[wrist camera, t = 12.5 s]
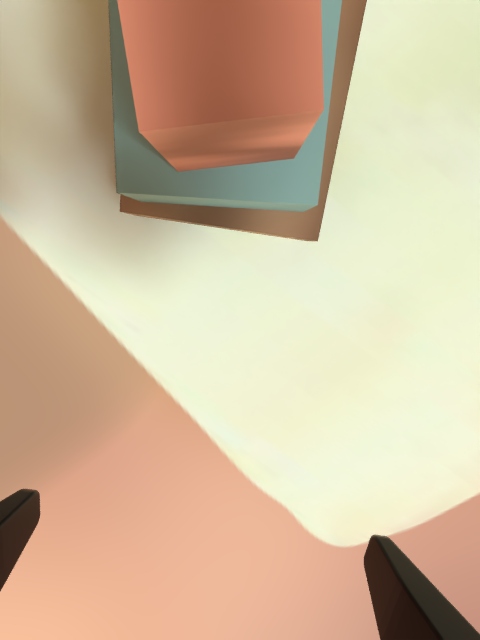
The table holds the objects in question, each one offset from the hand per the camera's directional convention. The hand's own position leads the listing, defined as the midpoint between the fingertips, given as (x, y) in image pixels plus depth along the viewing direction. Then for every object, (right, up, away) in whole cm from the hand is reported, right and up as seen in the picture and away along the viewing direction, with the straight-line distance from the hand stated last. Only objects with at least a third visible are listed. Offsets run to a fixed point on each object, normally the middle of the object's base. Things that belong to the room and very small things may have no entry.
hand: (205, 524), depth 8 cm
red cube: (+1, +14, +3) cm, 14 cm away
